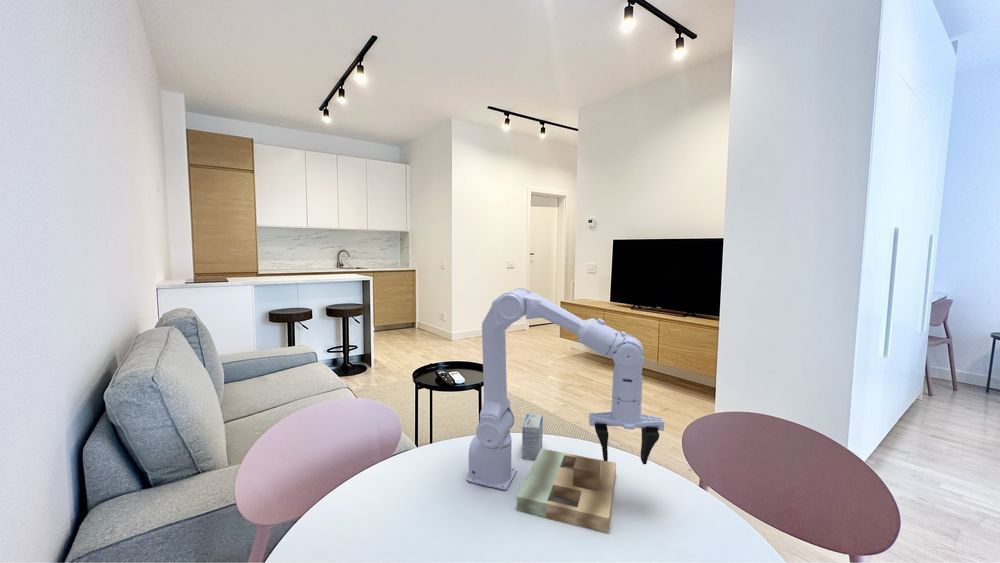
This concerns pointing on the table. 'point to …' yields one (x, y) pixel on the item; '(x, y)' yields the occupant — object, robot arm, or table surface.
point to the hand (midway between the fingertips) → (624, 460)
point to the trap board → (567, 492)
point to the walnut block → (586, 473)
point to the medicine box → (532, 436)
